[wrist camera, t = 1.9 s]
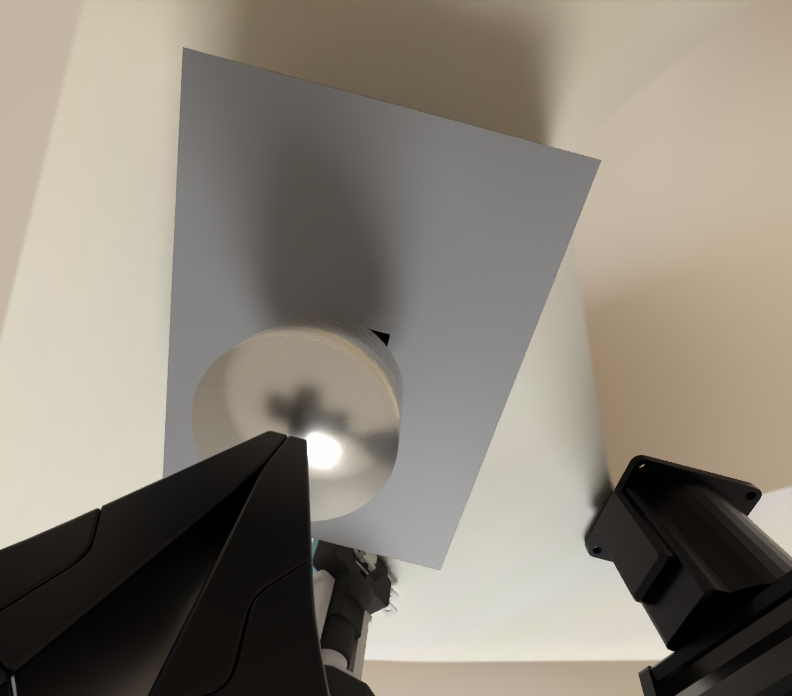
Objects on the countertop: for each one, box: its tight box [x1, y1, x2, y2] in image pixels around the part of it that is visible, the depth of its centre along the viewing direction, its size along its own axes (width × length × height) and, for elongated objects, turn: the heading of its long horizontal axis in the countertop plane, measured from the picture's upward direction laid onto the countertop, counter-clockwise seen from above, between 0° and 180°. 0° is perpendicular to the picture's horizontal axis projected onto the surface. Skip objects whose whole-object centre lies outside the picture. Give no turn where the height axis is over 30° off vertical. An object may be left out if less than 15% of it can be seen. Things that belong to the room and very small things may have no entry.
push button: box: [312, 539, 398, 696], centre depth 18 cm, size 7×5×10 cm
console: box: [163, 47, 601, 570], centre depth 15 cm, size 12×16×5 cm
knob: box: [191, 311, 404, 521], centre depth 12 cm, size 5×5×8 cm
